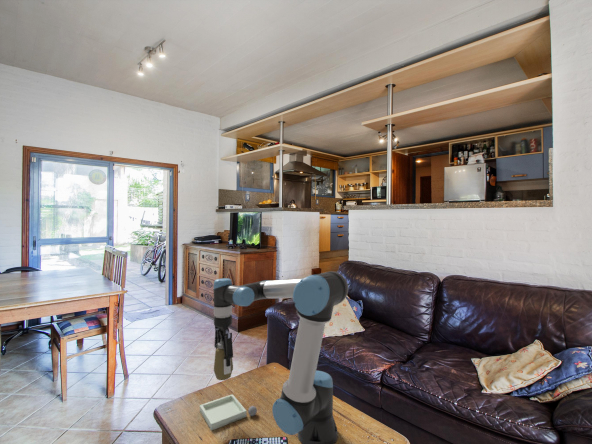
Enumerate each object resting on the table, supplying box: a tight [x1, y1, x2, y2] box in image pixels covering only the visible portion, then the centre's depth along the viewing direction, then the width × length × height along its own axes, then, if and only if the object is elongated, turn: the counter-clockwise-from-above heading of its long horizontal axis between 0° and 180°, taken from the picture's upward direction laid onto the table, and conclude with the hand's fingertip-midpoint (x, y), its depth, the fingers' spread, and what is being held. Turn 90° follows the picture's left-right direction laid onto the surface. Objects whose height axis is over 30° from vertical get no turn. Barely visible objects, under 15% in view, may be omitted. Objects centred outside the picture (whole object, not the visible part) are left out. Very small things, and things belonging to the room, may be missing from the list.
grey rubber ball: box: [247, 405, 258, 417], centre depth 126 cm, size 4×4×4 cm
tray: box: [199, 394, 248, 432], centre depth 127 cm, size 15×15×2 cm
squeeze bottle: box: [213, 341, 234, 381], centre depth 127 cm, size 8×8×18 cm
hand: (223, 369), depth 127 cm, fingers closed on squeeze bottle, 8 cm apart
